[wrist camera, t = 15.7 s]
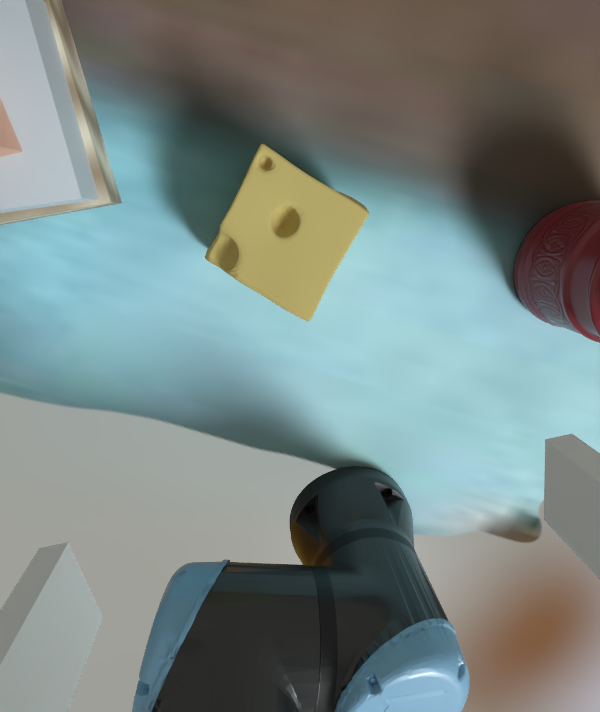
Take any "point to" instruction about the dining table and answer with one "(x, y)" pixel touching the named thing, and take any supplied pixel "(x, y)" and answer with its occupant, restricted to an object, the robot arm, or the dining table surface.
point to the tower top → (38, 115)
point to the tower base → (86, 123)
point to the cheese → (286, 233)
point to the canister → (563, 269)
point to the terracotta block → (7, 135)
